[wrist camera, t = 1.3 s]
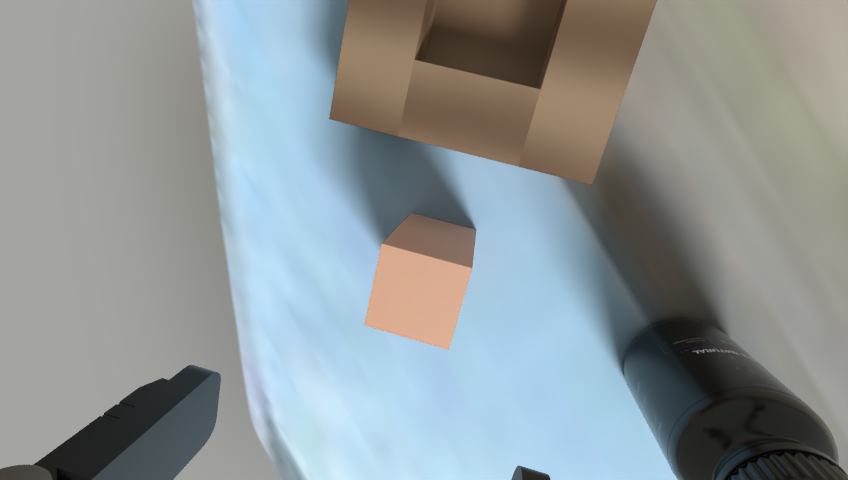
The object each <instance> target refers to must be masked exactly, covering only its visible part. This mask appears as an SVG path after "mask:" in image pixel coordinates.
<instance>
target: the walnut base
mask: <svg viewBox="0 0 848 480" xmlns="http://www.w3.org/2000/svg"><path fill="white" fill-rule="evenodd" d="M656 2H657V0H349V2H348V8H347V15H346V21H345V27H344V33H343V39H342V45H341V51H340V57H339V63H338V69H337V75H336V82H335V88H334V94H333V100H332V106H331V112H330V118H329V119H331V120H335V121H339V122H343V123H347V124H351V125H355V126H359V127H363V128H367V129H371V130H375V131H379V132H383V133H387V134H391V135H395V136H399V137H403V138H407V139H411V140H415V141H419V142H423V143H427V144H431V145H435V146H439V147H443V148H447V149H451V150H455V151H459V152H463V153H467V154H471V155H475V156H479V157H483V158H487V159H491V160H495V161H499V162H503V163H507V164H511V165H515V166H519V167H523V168H526V169H530V170H534V171H538V172H542V173H546V174H550V175H554V176H558V177H562V178H566V179H570V180H574V181H578V182H582V183H586V184H590V185H592V183H593V181H594V178H595V175H596V172H597V169H598V166H599V164H600V161H601V158H602V155H603V152H604V149H605V147H606V144H607V141H608V138H609V135H610V132H611V130H612V127H613V124H614V121H615V118H616V115H617V112H618V110H619V107H620V104H621V101H622V98H623V95H624V93H625V90H626V87H627V84H628V81H629V78H630V76H631V73H632V70H633V67H634V64H635V61H636V59H637V56H638V53H639V50H640V47H641V44H642V41H643V39H644V36H645V33H646V30H647V27H648V24H649V22H650V19H651V16H652V13H653V10H654V7H655V5H656Z"/></svg>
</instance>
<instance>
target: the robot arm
mask: <svg viewBox="0 0 848 480" xmlns="http://www.w3.org/2000/svg"><path fill="white" fill-rule="evenodd" d="M220 381H221V378H220V374H219V373H217V372H214V371H211V370H207V369H204V368H201V367H198V366H194V365H189V366H187V367H186V368H184V369H183V370H182V371H180V372H179V373H178V374H176V375H175V376H174V377H173V378H171V379H170V380H166V379H163V378H162V379H159V380H157V381H154V382H152V383H149V384H147V385H144V386H142V387H139V388H138V389H137V390H135V391H134V392H132V393H131V394H130V395H128V396H127V397H126V398H124V399H123V400H121V401H120V403H119V404H118V405H115V406H113V407H112V408H111V409H109V410H108V411H106V412H105V413H104V415H103V416H102V417H101V416H100V417H98V418H97V419H96V420H94V421H93V422H91V423H90V424H89V425H87V426H86V427H85V428H84V429H82V430H81V431H79V432H78V433H76V434H75V435H74V436H72V437H71V438H70V439H68V440H67V441H65V442H64V443H63V444H61V445H60V446H59V447H57V448H56V449H54V450H53V451H52V452H50V453H49V454H48V455H46V456H45V457H44V458H42V459H41V460H39V461H38V462H37V463H35V464H34V465H17V466H10V467H6V468H2V469H0V480H173V479H174V478H175V477H176V476H177V475H178V474H179V472H180V471H181V470H182V469H183V468H184V467H185V466H186V465H187V464H188V463H189V461H190V460H191V459H192V458H193V457H194V456H195V455H196V454H197V453H198V451H199V450H200V449H201V448H202V447H203V446H204V445H205V443H206V442H207V440H208V439H209V437H210V435H211V433H212V431H213V429H214V426H215V423H216V417H217V408H218V398H219V390H220ZM512 480H550V477H549V475H548V474H545V473H541V472H538V471H535V470H531V469H528V468H525V467H522V466H517V468H516V469H515V472H514V474H513V477H512Z"/></svg>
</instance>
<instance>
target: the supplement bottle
mask: <svg viewBox="0 0 848 480" xmlns="http://www.w3.org/2000/svg"><path fill="white" fill-rule="evenodd" d="M624 376H625V379H626V382H627V385H628V387H629V389H630V391H631V393H632V395H633V397H634V399H635V401H636V403H637V405H638V406H639V408H640V410H641V412H642V414H643V416H644V418H645V420H646V422H647V424H648V425H649V427H650V429H651V431H652V433H653V435H654V437H655V439H656V441H657V442H658V444H659V446H660V448H661V450H662V452H663V454H664V456H665V458H666V460H667V461H668V463H669V465H670V467H671V469H672V471H673V473H674V474H675V476H676V478H677V479H678V480H848V475H847V474H846V473H845V472H844V470H843V469H842V468H841V467H840V466H839V457H838V451H837V446H836V443H835V440H834V438H833V435H832V433H831V431H830V430H829V428H828V427H827V425H826V424H825V422H824V421H823V420H822V419H821V418H820V417H819V416H818V415H817V414H816V413H815V412H814V411H813V410H812V409H811V408H810V407H809V406H808V405H807V404H806V403H804V402H803V401H802V400H801V399H800V398H799V397H797V396H796V395H795V394H794V393H793V392H792V391H791V390H789V389H788V388H787V387H786V386H785V385H784V384H783V383H781V382H780V381H779V380H778V379H777V378H776V377H774V376H773V375H772V374H771V373H770V372H769V371H768V370H766V369H765V368H764V367H763V366H762V365H761V364H759V363H758V362H757V361H756V360H755V359H754V358H753V357H751V356H750V355H749V354H748V353H747V352H746V351H744V350H743V349H742V348H741V347H740V346H739V345H738V344H736V343H735V342H734V341H733V340H732V339H730V338H729V337H728V336H727V335H726V334H724V333H723V332H722V331H720V330H719V329H717V328H716V327H714V326H712V325H710V324H708V323H705V322H702V321H698V320H693V319H671V320H666V321H662V322H659V323H656V324H654V325H652V326H650V327H648V328H647V329H645V330H644V331H642V332H641V333H640V334H639V335H638V336H637V337H636V338H635V339H634V340H633V341H632V343H631V344H630V346H629V348H628V350H627V352H626V355H625V359H624Z"/></svg>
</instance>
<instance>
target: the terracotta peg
mask: <svg viewBox="0 0 848 480" xmlns="http://www.w3.org/2000/svg"><path fill="white" fill-rule="evenodd" d="M475 236H476V230H475V229H471V228H468V227H464V226H460V225H456V224H453V223H449V222H445V221H441V220H437V219H434V218H430V217H426V216H422V215H419V214H415V213H410V214H409V215H408V216H407V218H406V219H405V220H404V221H403V222H402V223H401V224H400V225H399V226H398V227H397V228H396V229H395V230H394V231H393V232H392V233H391V234H390V235H389V236H388V238H387V239H386V240H385V241H384V242H383V243H382V245H381V249H380V254H379V259H378V263H377V268H376V272H375V277H374V282H373V286H372V291H371V296H370V300H369V305H368V309H367V314H366V319H365V323H364V325H365V326H369V327H372V328H376V329H379V330H382V331H386V332H389V333H393V334H396V335H400V336H403V337H407V338H410V339H413V340H417V341H420V342H424V343H427V344H431V345H434V346H438V347H441V348H444V349H448V350H449V347H450V344H451V340H452V337H453V333H454V330H455V326H456V323H457V319H458V316H459V312H460V309H461V305H462V302H463V298H464V295H465V291H466V288H467V284H468V281H469V277H470V274H471V270H472V265H473V255H474V246H475Z"/></svg>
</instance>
